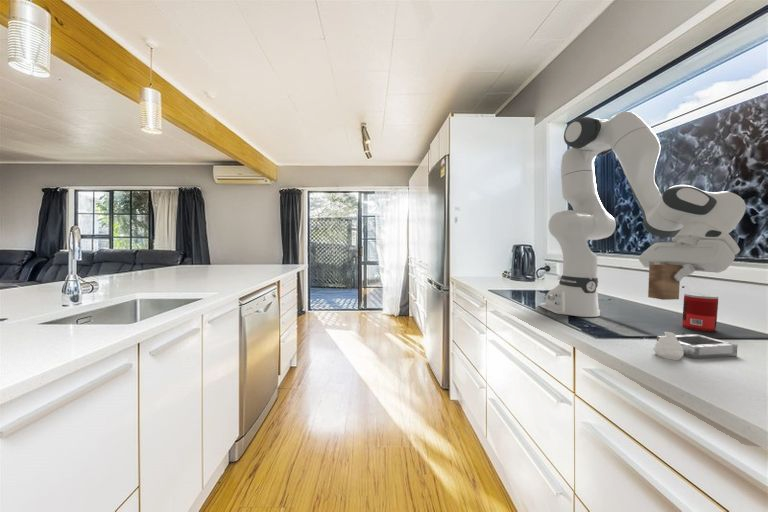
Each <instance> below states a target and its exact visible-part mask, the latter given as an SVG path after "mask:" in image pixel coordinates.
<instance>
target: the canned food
mask: <svg viewBox="0 0 768 512" xmlns="http://www.w3.org/2000/svg"><path fill="white" fill-rule="evenodd" d="M682 305H683V306H682V307H683V310H682V321H681V323H682V324H681V325H682V326H683V327H684V328H686V329H690V330H693V329H694V331H700V330H702V331H701V332H715V331H716V329H717V320H718V310H719V309H718V308H719V296H718V295H715V294H710V293H702V292H701V293H700V292H699V293H698V292H685V293H684V295H683V304H682Z"/></svg>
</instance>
